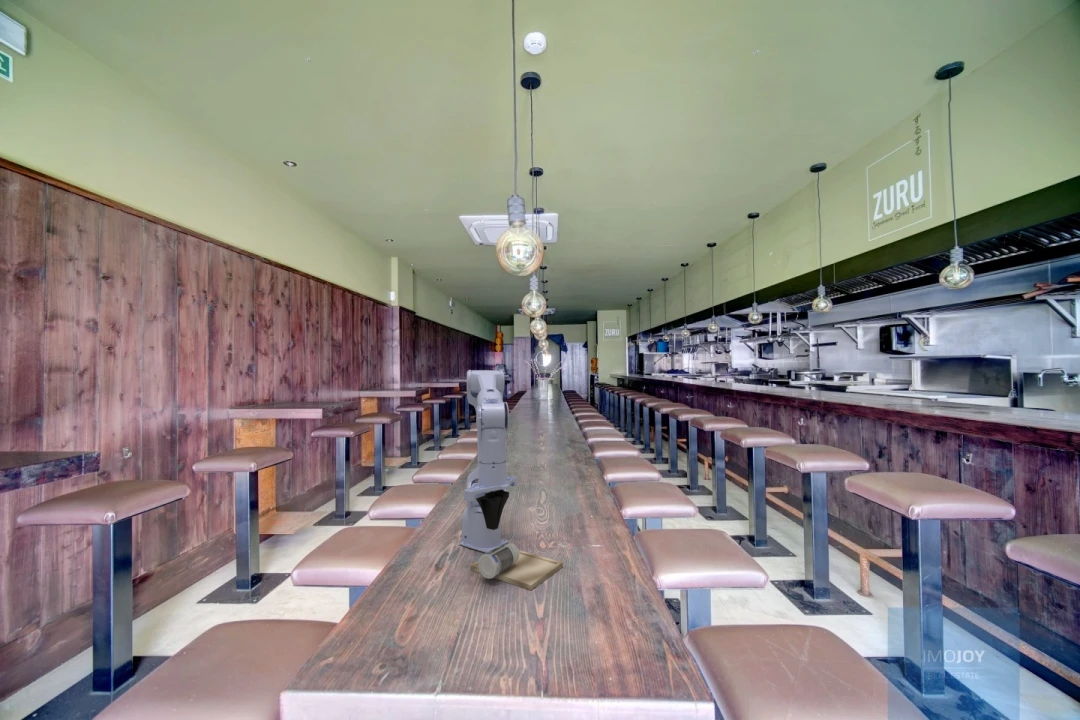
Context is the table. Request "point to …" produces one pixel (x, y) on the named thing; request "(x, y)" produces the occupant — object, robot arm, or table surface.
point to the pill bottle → (498, 560)
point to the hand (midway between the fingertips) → (492, 528)
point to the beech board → (527, 570)
